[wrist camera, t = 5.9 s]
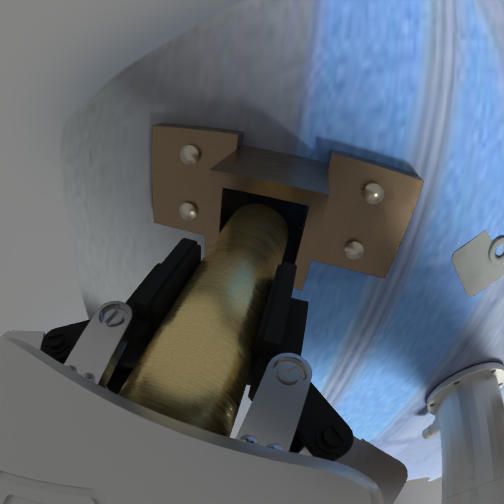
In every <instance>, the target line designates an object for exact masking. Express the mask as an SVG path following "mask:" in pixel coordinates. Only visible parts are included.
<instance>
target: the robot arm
mask: <svg viewBox="0 0 504 504" xmlns="http://www.w3.org/2000/svg"><path fill="white" fill-rule="evenodd" d="M200 262H201V246H200V245H197V241H194V240H190V239H186V238H183V239H182V240H181V241H180V242H179V243H178V245H177V246H176V247H175V248H174V249H173V250H172V252H171V253H170V254H169V255H168V257H167V258H166V259H165V260H164V261H163V263H162V264H160V263H159V264H157V265H156V266H155V267H154V268H153V269H152V271H151V272H150V273H149V274H148V275H147V277H146V278H145V279H144V280H143V282H142V283H141V284H140V285H139V287H138V288H137V289H136V290H135V292H134V293H133V294H132V295H131V297H130V298H129V299H128V300H127V302H126V303H124V302H121V301H110V302H108V303H105V304H103V305H102V306H100V308H99V309H98V310H97V311H96V313H95V314H94V316H93V317H92V319H90V320H87V321H83V322H79V323H75V324H71V325H67V326H63V327H59V328H55V329H53V330H51V331H49V332H48V333H47V334H45V332H39V331H8V332H6V333H5V334H4V335H3V336H0V504H393V503H394V501H395V500H396V498H397V496H398V495H399V493H400V491H401V490H402V488H403V486H404V484H405V483H406V480H407V477H408V474H407V469H406V467H405V465H404V464H403V463H402V462H400V461H399V460H397V459H395V458H393V457H392V456H390V455H388V454H387V453H385V452H383V451H382V450H380V449H378V448H377V447H375V446H373V445H372V444H370V443H369V442H367V441H365V440H364V439H361V440H359V439H358V438H356V437H355V436H353V433H352V430H351V429H350V427H349V426H348V424H347V423H346V422H345V421H344V420H343V419H342V418H341V417H340V415H339V414H338V413H337V412H336V411H335V410H334V408H333V407H332V406H331V405H330V404H329V403H328V401H327V400H326V399H325V398H324V397H323V396H322V394H321V393H320V392H319V391H318V390H317V389H316V387H315V386H314V385H313V384H312V383H311V378H312V370H311V366H310V365H309V363H308V362H307V361H306V360H305V359H304V358H303V357H301V352H302V345H303V339H304V332H305V325H306V318H307V311H308V302H307V301H303V300H298V299H294V298H291V296H292V291H293V286H294V281H295V275H296V270H297V265H294V264H290V263H286V262H284V264H283V265H278V266H277V269H276V273H275V276H274V280H273V283H272V287H271V290H270V293H269V297H268V300H267V304H266V307H265V310H264V314H263V317H262V320H261V324H260V327H259V330H258V334H257V337H256V341H255V345H254V350H253V354H252V368H251V371H250V374H249V378H248V381H247V385H251V387H250V391H249V394H248V397H249V398H250V400H251V401H252V403H251V406H250V408H249V410H248V412H247V414H246V417H245V419H244V421H243V423H242V425H241V428H240V430H239V432H238V434H237V436H236V438H235V439H233V438H229V437H226V436H222V435H219V434H216V433H213V432H209V431H206V430H203V429H200V428H197V427H194V426H191V425H189V424H186V423H183V422H180V421H178V420H175V419H172V418H170V417H167V416H165V415H162V414H160V413H157V412H155V411H152V410H150V409H148V408H145V407H143V406H141V405H139V404H136V403H134V402H132V401H130V400H128V399H126V398H123V397H121V396H119V395H118V394H119V392H120V390H121V389H122V387H123V385H124V383H125V382H126V380H127V378H128V377H129V375H130V373H131V372H132V370H133V368H134V367H135V365H136V363H137V362H138V360H139V358H140V357H141V355H142V353H143V352H144V350H145V348H146V347H147V345H148V344H149V342H150V340H151V339H152V337H153V335H154V334H155V332H156V331H157V329H158V327H159V326H160V324H161V323H162V321H163V319H164V318H165V316H166V315H167V313H168V312H169V310H170V308H171V307H172V305H173V304H174V302H175V301H176V299H177V297H178V296H179V294H180V293H181V291H182V290H183V288H184V287H185V285H186V283H187V282H188V280H189V279H190V277H191V276H192V274H193V273H194V271H195V270H196V268H197V267H198V265H199V264H200ZM503 384H504V366H503V365H502V364H500V363H495V362H489V363H483V364H478V365H475V366H472V367H470V368H467V369H465V370H463V371H461V372H458V373H456V374H455V375H453V376H451V377H450V378H448V379H446V380H445V381H444V382H442V383H441V384H440V385H438V386H437V387H436V388H435V389H434V390H433V391H432V392H431V394H430V395H429V397H428V399H427V409H428V411H429V412H430V413H431V414H433V415H435V420H434V422H433V424H432V425H430V426H429V427H427V428H426V429H424V430H423V432H422V436H423V437H424V438H425V439H429V438H431V437H432V436H434V435H435V434H437V433H441V449H442V504H504V404H503V399H502V395H501V391H500V389H501V387H502V386H503Z"/></svg>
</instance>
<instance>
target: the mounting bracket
mask: <svg viewBox="0 0 504 504" xmlns="http://www.w3.org/2000/svg"><path fill="white" fill-rule="evenodd" d="M501 244H504V236H500V237H498V238H496V239H495V241H494V242H492V240H491V238H490V236H489V234H488V233H487V231H486V230H485V231H483V232H482V233H480V234H479V235H478V236H476V237H475V238H474V239H472V240H471V241H469V242H468V243H467V244H465V245H464V246H462V247H461V248H460V249H458V250H457V251H455V252H454V254H453V256H452V262H453V265H454V267H455V269H456V271H457V273H458V276H459V278H460V280H461V282H462V285H463V287H464V289H465V291H466V294H467V295H468V296H474V295H476V294H477V293H479V292H480V291H482V290H483V289H485V288H486V287H487V286H489V285H490V284H492V283H493V282H494V281H496V280H497V279H498V278H500V277H501V276H502V275H504V265H503V262H504V254H503V255H502V256H497V255H496V253H495V251H496V249H497V247H498V246H499V245H501Z"/></svg>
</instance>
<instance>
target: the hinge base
mask: <svg viewBox="0 0 504 504" xmlns="http://www.w3.org/2000/svg"><path fill="white" fill-rule="evenodd" d="M242 137H243V132H239V131H232V130H225V129H217V128H209V127H199V126H189V125H178V124H164V123H160V124H157V125H154V126H152V191H153V215H154V223H157V224H161V225H166V226H170V227H174V228H178V229H183V230H187V231H191V232H195V233H200V234H204V235H205V254H204V256H205V255H206V253H207V252H208V250H209V249H210V247H211V246H212V244H213V243H214V241H215V240H216V238H217V237H218V235H219V234H220V232H221V231H222V229H223V228H224V227H225V225H226V224H227V222H228V221H229V219H230V218H231V216H232V215H233V214H234V212H235V211H236V210H237V209H239V208H240V207H242V206H245V204H246V196H247V192H249V193H253V194H258V195H263V196H268V197H272V198H277V199H281V200H286V201H290V202H294V203H299V204H303V205H307V207H306V211H305V216H304V220H303V224H302V228H301V227H297V226H293V225H288V224H287V228H288V240H287V244H286V247H285V251H284V255H283V259H282V262H281V265H283V264H284V262H286V263H290V264H294V265H297V270H296V275H295V281H294V286H293V288H294V289H299V290H302V289H303V286H304V283H305V280H306V277H307V273H308V270H309V267H310V263H311V260H313V261H317V262H321V263H325V264H329V265H333V266H337V267H341V268H345V269H349V270H354V271H358V272H362V273H366V274H370V275H374V276H378V277H382V278H385V277H386V275H387V273H388V270H389V268H390V266H391V264H392V262H393V260H394V257H395V255H396V253H397V251H398V248H399V246H400V244H401V241H402V239H403V236H404V234H405V232H406V229H407V227H408V224H409V222H410V219H411V216H412V214H413V211H414V208H415V206H416V203H417V200H418V197H419V195H420V192H421V189H422V186H423V183H424V181H423V180H422V179H421V178H420V177H419V176H418V175H415V174H412V173H409V172H406V171H403V170H400V169H397V168H394V167H391V166H388V165H385V164H381V163H378V162H375V161H372V160H368V159H365V158H361V157H358V156H354V155H350V154H347V153H343V152H339V151H335V150H331V154H330V159H329V163H324V162H320V161H315V160H311V159H307V158H302V157H298V156H293V155H288V154H283V153H278V152H273V151H268V150H263V149H257V148H251V147H245V146H241V145H242Z"/></svg>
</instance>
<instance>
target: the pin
mask: <svg viewBox="0 0 504 504" xmlns="http://www.w3.org/2000/svg"><path fill="white" fill-rule="evenodd" d="M287 240H288V228H287V224H286V222H285V220H284V219H283V217H282V216H281V215H280V214H279V213H278V212H277V211H276V210H274V209H273V208H271V207H269V206H266V205H263V204H248V205H245V206H242V207H240V208H239V209H237V210H236V211H235V212H234V214H233V215H232V216H231V218H230V219H229V221H228V222H227V224H226V225H225V227H224V228H223V229H222V231H221V232H220V234H219V235H218V237H217V238H216V240H215V241H214V243H213V244H212V246H211V247H210V249H209V250H208V252H207V253H206V255H205V256H204V258H203V259H202V261H201V262H200V264H199V265H198V267H197V268H196V270H195V271H194V273H193V274H192V276H191V277H190V279H189V280H188V282H187V283H186V285H185V287H184V288H183V290H182V291H181V293H180V294H179V296H178V297H177V299H176V301H175V302H174V304H173V305H172V307H171V308H170V310H169V312H168V313H167V315H166V316H165V318H164V319H163V321H162V323H161V324H160V326H159V327H158V329H157V331H156V332H155V334H154V335H153V337H152V339H151V340H150V342H149V344H148V345H147V347H146V348H145V350H144V352H143V353H142V355H141V357H140V358H139V360H138V362H137V363H136V365H135V367H134V368H133V370H132V372H131V373H130V375H129V377H128V378H127V380H126V382H125V383H124V385H123V387H122V389H121V390H120V392H119V394H118V395H119V396H121V397H123V398H126V399H128V400H130V401H132V402H134V403H136V404H139V405H141V406H143V407H145V408H148V409H150V410H152V411H155V412H157V413H160V414H162V415H165V416H167V417H170V418H172V419H175V420H178V421H180V422H183V423H186V424H189V425H191V426H194V427H197V428H200V429H203V430H206V431H209V432H213V433H216V434H219V435H222V436H226V437H230V434H231V431H232V428H233V425H234V422H235V419H236V416H237V413H238V410H239V406H240V403H241V400H242V397H243V394H244V391H245V387H246V384H247V381H248V378H249V374H250V371H251V368H252V354H253V350H254V345H255V341H256V337H257V334H258V330H259V327H260V324H261V320H262V317H263V314H264V310H265V307H266V304H267V300H268V297H269V293H270V290H271V287H272V283H273V280H274V276H275V273H276V269H277V266H278V265H281V262H282V259H283V255H284V251H285V247H286V244H287Z"/></svg>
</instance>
